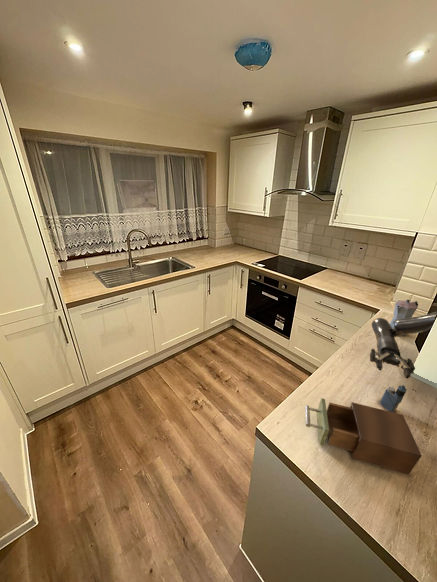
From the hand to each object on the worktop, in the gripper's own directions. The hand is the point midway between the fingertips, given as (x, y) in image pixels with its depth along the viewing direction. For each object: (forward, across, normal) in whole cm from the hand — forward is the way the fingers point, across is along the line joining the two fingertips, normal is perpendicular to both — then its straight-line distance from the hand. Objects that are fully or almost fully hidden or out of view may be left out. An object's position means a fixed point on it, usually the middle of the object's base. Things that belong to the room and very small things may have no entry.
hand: (393, 372), depth 87 cm
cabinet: (+26, -6, +10) cm, 29 cm away
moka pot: (-53, +12, +10) cm, 55 cm away
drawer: (+28, -18, +9) cm, 35 cm away
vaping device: (+8, 0, +10) cm, 13 cm away
